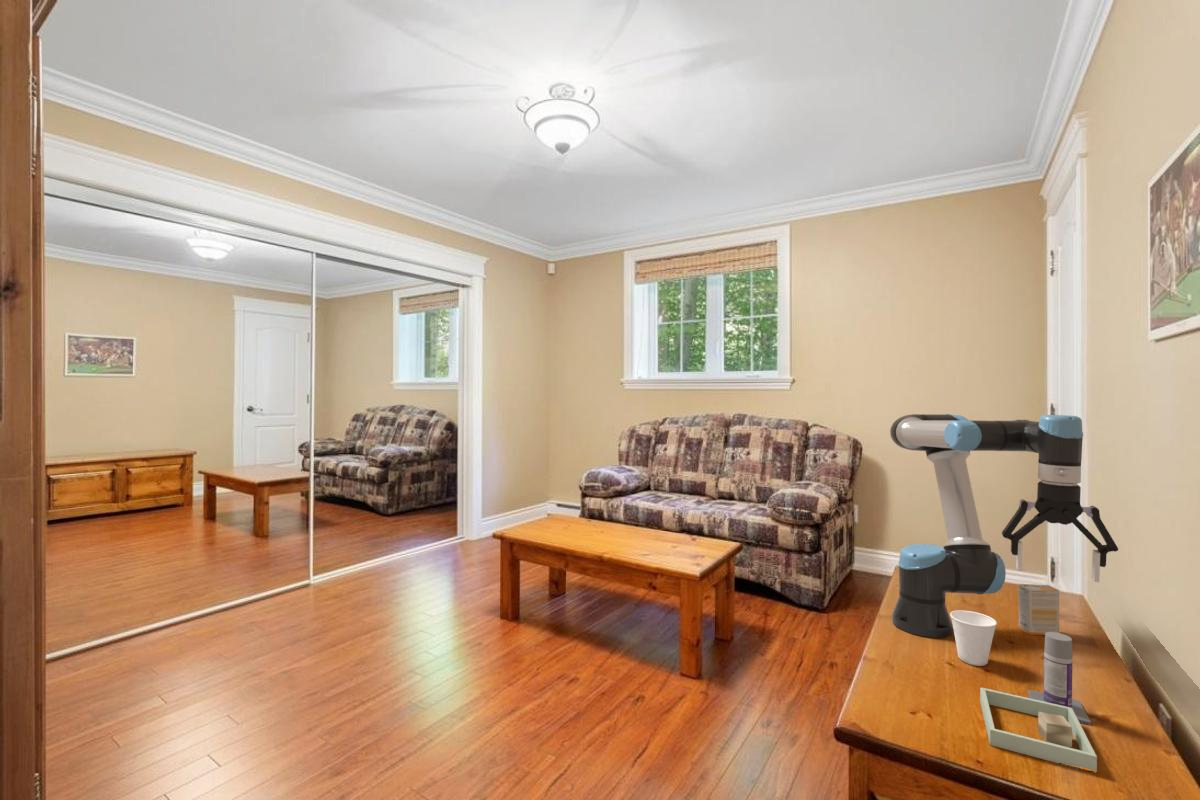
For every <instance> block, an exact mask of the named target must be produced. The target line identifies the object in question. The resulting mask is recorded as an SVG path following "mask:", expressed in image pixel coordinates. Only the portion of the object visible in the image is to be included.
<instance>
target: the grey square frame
mask: <svg viewBox="0 0 1200 800" xmlns="http://www.w3.org/2000/svg"><path fill="white" fill-rule="evenodd" d="M979 690H980V691H979V703H980V707H981V710H982V715H983V720H984V725H985V728H986V729H985V730H986V733H987V737H988V742H989V746H993V747H995V748H1000V749H1004V750H1007V751H1011V752H1015V753H1018V754H1022V755H1025V754H1026V755H1025V756H1030V757H1033V758H1037V759H1041V760H1045V761H1048V762H1053V763H1056V764H1059V763H1062V764H1061V765H1063V764H1068V765H1073V766H1078V767H1083V768H1088V769H1091V770H1094V771H1096V772H1098V770H1097V769H1098V765H1097V764H1098V756H1097V754H1096V752H1095V750H1094V748H1093V747H1092V745H1091V742H1090V741H1089V739H1088V737H1087V734H1086V733H1085V731H1084V729H1083V727H1082V725H1081V723H1080V722H1079V721H1078V719H1077V717H1076V715H1075V713H1074V711H1073V709H1072V708H1070V707H1066V706H1061V705H1057V704H1052V703H1048V702H1044V701H1039V700H1035V699H1030V697H1026V696H1021V695H1015V694H1013V693H1012V694H1011V693H1008V692H1003V691H999V690H994V689H991V688H985V687H980V688H979ZM990 706H994V707H999V708H1002V709H1007V710H1011V711H1015V712H1020V713H1024V714H1028V715H1032V716H1037V717H1038V712H1043V713H1049V714H1055V715H1061V716H1063V717H1064V718H1065V719H1066V720H1067V722H1068V723H1069V724H1070V725H1071V727H1072V736H1073V738H1074V739H1075V742H1076V744H1077V743H1078V744H1077V746H1078V745H1079V746H1078V748H1079V747H1080V748H1079V749H1077V748H1073V747H1072V748H1071V747H1066V746H1061V745H1057V744H1053V743H1049V742H1046V741H1045V740H1041V739H1036V738H1033V737H1028V736H1026V735H1021V734H1017V733H1013V732H1009V731H1004V730H1001V729H997V728H995V724H994V720H993V716H992V712H991V708H990ZM1080 749H1081V750H1080Z"/></svg>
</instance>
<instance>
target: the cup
mask: <svg viewBox="0 0 1200 800" xmlns="http://www.w3.org/2000/svg"><path fill="white" fill-rule="evenodd" d="M949 617H950V619H951V622H952V630H953V634H954V638H955V639H954V640H955V645H956V652H957V656H958V658H959V659H960V660H961V661H962V662H964V663H965V664H968V665H970V666H976V667H977V666H978V667H981V666H982V667H983V666H986V665H987V664H988V663H989V662H988V661H989V658H990V656H989V655H990V652H991V647H992V643H993V639H994V634H995V630H996V626H997V625H998V623H997V620H995V618H992V617H991V616H988V615H986V614H983V613H981V612H980V613H979V612H976V611H971V610H959V609H958V610H953V611H951V612H949Z"/></svg>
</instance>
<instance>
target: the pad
mask: <svg viewBox="0 0 1200 800" xmlns="http://www.w3.org/2000/svg"><path fill="white" fill-rule="evenodd" d="M1027 694H1028V696H1029V697H1028V698H1030V699H1035V700H1039V701H1044V692H1040V691H1035V690H1030V689H1027ZM1072 709H1073V711H1074V713H1075V715H1076V717H1077V719H1078V721H1079V723H1080V724H1084V723H1085V725H1088V724H1090V725H1089V726H1092V722H1091V719H1090V718H1089V716H1088V714H1087V712H1086V710H1085V708H1084V707H1083V705H1082V703H1081V701H1080V700H1078V699H1077V700H1076V699H1073V698H1072Z"/></svg>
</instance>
